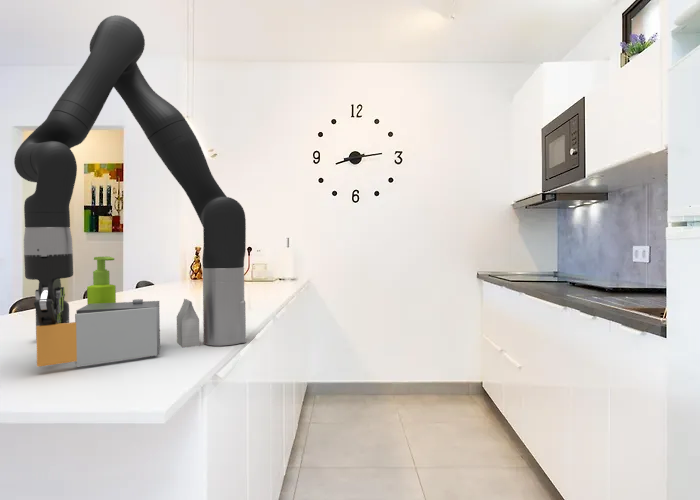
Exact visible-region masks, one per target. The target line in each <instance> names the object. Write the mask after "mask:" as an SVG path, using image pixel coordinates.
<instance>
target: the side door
mask: <svg viewBox="0 0 700 500" xmlns="http://www.w3.org/2000/svg"><path fill="white" fill-rule="evenodd" d="M159 314H160V306H159V307H152V308H140V309H128V310H116V311H104V312H93V313H81V314H76V313H75V315H74V318H75V319H74V321H73V322H71V321H70V322H69V323H61V324H50V325H39V326H36V325H35V340H36V367H45V366H53V365H60V364H67V363H73V362H75V366H76V367H78V368H79V367H86V366H91V365H98V364H107V363H111V362H112V363H113V362H119V361H125V360H134V359H140V358H148V356H151V357H156V356H159V355H160V346H159Z"/></svg>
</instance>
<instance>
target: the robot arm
mask: <svg viewBox="0 0 700 500" xmlns="http://www.w3.org/2000/svg"><path fill="white" fill-rule="evenodd" d="M145 43H146V42H145V36H144V33H143V31H142V29H141V28H140V27H139V26H138V24H137V23H135V21H133V20H131V19H130V18H129V17H126V16H123V15H110V16H108V17H106V18H104V19H102V20H101V22H100V23H99V24H98V25H97V27H96V29H95V31H94V33H93V35H92V37H91V39H90V42H89V52H90V53H89V54H88V57H87V58H86V60H85V62H84V64H82V65H81V67H80V69H79V71H78V72H77V74H76V75H75V76H74V78H73V79H72V80H71V82H70V83H69V84H68V86H67V87H66V89H65V90H64V91H63V92H62V94H61V96H60V97H59V98H58V100H57V102H55V104H54V106H53V107H52V109H51V110H50V112H49V114H48V115H47V117H46V119H45V121H43V122H42V123H41V124H40V125H39V126H38V127H37V128H35V129H34V130H33V132H31V133H30V134H29V135H28V136H27V138H26V139H24V140H23V142H22V143H21V144H20V146H19V147H18V148H17V150H16V152H15V155H14V161H13V162H14V168H15V170H16V172H17V174H18V175H19V177H20V178H23V180H26V181H27V182H31V183H36V186H35V190H34V192H33V194H31V195H29V196H28V197H26V199H25V200H24V205H23V207H24V208H23V213H24V234H23V258H24V259H23V260H24V261H23V262H24V277H25V279H27V280H29V281H30V280H35V281H36V280H37V281H38V289H36V290H35V291H34V292H35V293H34V294H35V300H34V302H33V305H34V308H35V313H36V312H37V316H38V320H39V323H40V325H50V324H60V322H61V320H60V319H62V317H63V305H64V301H65V297H66V293H65V287H64V286H62V282H61V279H67V278H71V277H73V276H74V257H73V256H74V254H73V238H72V231H71V217H70V215H71V214H70V205H71V201H72V200H71V199H72V196H73V193H74V190H75V183H76V179H77V174H78V172H77V171H78V165H77V160H76V157H75V155H74V152H73V151H72V150H71V149H73V148H74V147H76V146H78V145H81V144H83V142H84V141H85V140H86V138H87V137H88V135H89V133H90V131H91V130H92V128H93V126H94V125H95V123H96V121H97V120H98V118H99V115H100V114H101V112H102V110H103V108H104V106H105V104H106V102H107V99H108V98H109V96H110V94H111V92H112V90H113V89H115V91H116V92H117V93H118V95H119V96H120V97H121V99H122V100H123V102H124V103H125V105H126V107H127V108H128V109H129V111H130V112H131V114H132V116H133V117H134V119H135V120H136V122H137V124H138V125H139V126H140V128H141V130H142V131H143V133H144V135H145V136H146V138H147V141H149V143H150V145H151V146H152V148H153V149H154V151H155V152H156V154H157V155H158V157H159V158H160V159H161V161H162V163H163V164H164V165H165V167H166V168H167V170H168V171H169V172H170V174H171V175H172V176H173V178H174V179H175V180H176V181H177V183H178V184H179V186H181V188H182V189H183V190H184V192H185V193H186V194H185V195H187V197H188V198H189V199H188V200H189V201H190V203H191V205H192V207H193V209H194V210H195V213H196V215H197V216H198V219H199V222H200V223H201V225H202V227H203V228H202V229H203V230H202V231H203V235H202V237H203V250H202V305H203V306H202V311H203V312H202V318H203V321H202V324H203V326H202V327H203V328H202V329H203V333H202V335H203V344H204V345H207V346H220V347H221V346H233V345H237V344H243V343H244V344H245V343H246V342H247V338H246V336H247V335H246V334H247V333H246V332H247V331H246V330H247V328H246V326H247V325H246V320H247V319H246V300H245V256H246V250H247V249H246V246H247V245H246V244H247V243H246V242H247V241H246V240H247V239H246V237H247V235H246V233H247V232H246V231H247V230H246V229H247V225H246V224H247V223H246V220H247V219H246V212H245V210H244V207H243V206H242V204H240V202H238V200H236V199H234V198H232V197H230V196H227V195H226V194H225V192H224V191H223V190H222V188H221V186H219V184H218V182H217V180H216V179H215V178H214V176H213V173H212V172H211V169H210V167H209V164H208V162H207V159H206V156H205V154H204V151H203V149H202V147H201V144H200V142H199V140H198V138H197V136H196V135H195V132H194V131H193V129H192V128H191V126H190V124H189V123H188V121H187V120H186V118H185V117H184V115H183V114H182V113H181V112H180V111H179V109H178V108H176V107H175V106H174V105H173V104H171V102H169V101H168V100H166V99H165V98H163V97H162V96H161V95H159V94H158V93H157V92H156V91H155V90H154V89H153V88H152V87H151V86H150V84H149V83H148V81H147V80H146V78H145V76H144V75H143V73H142V71H141V69H140V67H139V65H138V62H139V60H140V58H141V56H142V55H143V53H144V50H145V45H146V44H145Z"/></svg>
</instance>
